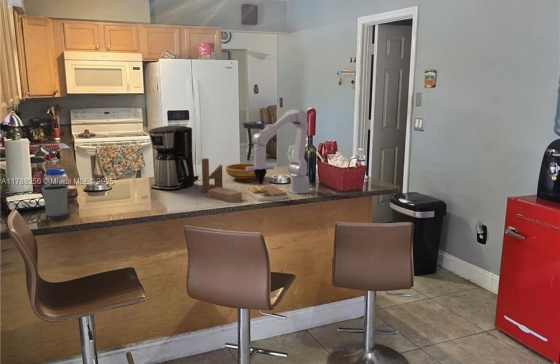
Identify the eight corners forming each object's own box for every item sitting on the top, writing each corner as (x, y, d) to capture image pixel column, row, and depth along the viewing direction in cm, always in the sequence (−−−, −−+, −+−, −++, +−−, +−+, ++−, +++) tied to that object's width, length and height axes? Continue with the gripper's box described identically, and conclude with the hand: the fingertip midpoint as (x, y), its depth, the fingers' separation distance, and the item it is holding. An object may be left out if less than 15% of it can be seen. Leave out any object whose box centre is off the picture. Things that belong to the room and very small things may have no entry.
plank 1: (261, 188, 248) (261, 186, 248) (267, 192, 240) (267, 190, 240) (247, 190, 245) (247, 187, 245) (253, 193, 237) (253, 191, 237)
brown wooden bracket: (222, 191, 249) (222, 158, 246) (203, 192, 245) (202, 159, 241) (220, 189, 253) (220, 157, 249) (201, 191, 248) (200, 158, 245)
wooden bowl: (218, 177, 288) (218, 164, 287) (253, 173, 299) (253, 161, 297) (235, 186, 262) (235, 172, 261) (273, 182, 273) (274, 169, 272)
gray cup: (39, 216, 200) (36, 189, 197) (54, 210, 210) (51, 184, 207) (60, 217, 198) (58, 190, 196) (74, 211, 208) (72, 185, 206)
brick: (243, 199, 232) (242, 190, 231) (231, 203, 225) (231, 193, 224) (219, 195, 241) (219, 186, 240) (207, 198, 235) (207, 189, 234)
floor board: (273, 190, 252) (273, 185, 251) (287, 198, 234) (288, 193, 233) (245, 192, 246) (245, 187, 245) (258, 201, 228) (258, 195, 227)
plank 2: (267, 192, 239) (268, 190, 239) (273, 195, 231) (274, 193, 231) (254, 187, 236) (254, 184, 236) (260, 190, 228) (260, 188, 228)
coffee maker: (146, 190, 250) (142, 128, 243) (164, 179, 281) (161, 123, 274) (187, 191, 248) (185, 129, 241) (201, 179, 280) (199, 124, 273)
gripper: (270, 155, 236) (270, 181, 239) (243, 157, 230) (244, 183, 233) (275, 157, 229) (275, 184, 232) (248, 159, 224) (248, 186, 227)
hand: (260, 184), depth 232 cm, fingers closed
